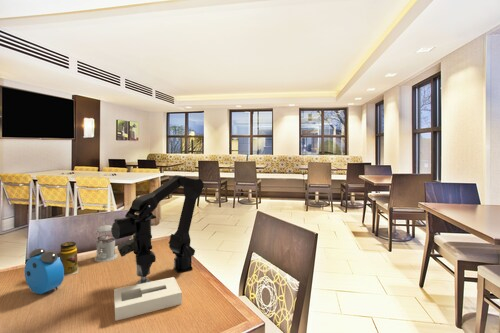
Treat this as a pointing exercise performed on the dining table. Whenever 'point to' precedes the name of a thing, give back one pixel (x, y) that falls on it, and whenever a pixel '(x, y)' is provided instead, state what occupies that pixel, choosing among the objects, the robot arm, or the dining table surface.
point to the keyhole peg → (139, 273)
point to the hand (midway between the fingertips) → (143, 272)
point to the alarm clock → (43, 271)
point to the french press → (105, 244)
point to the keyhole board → (146, 298)
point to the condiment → (69, 258)
